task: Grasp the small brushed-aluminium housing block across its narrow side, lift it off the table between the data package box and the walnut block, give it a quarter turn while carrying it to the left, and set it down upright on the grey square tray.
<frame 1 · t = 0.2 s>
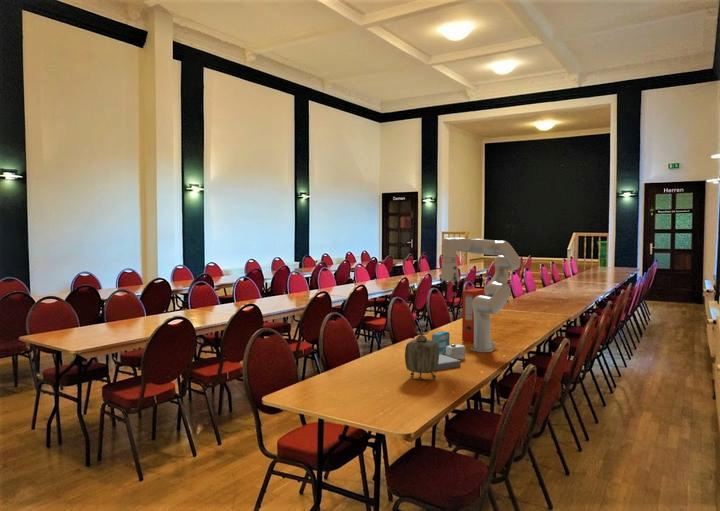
hand: (449, 291, 289), 36 cm above the table, tool pointing down, fingers open, 9 cm apart
tabletop clock: (421, 379, 246), on the table
data package: (440, 354, 295), on the table
housing: (455, 358, 284), on the table
grey square tray: (438, 365, 271), on the table
walnut block: (419, 359, 282), on the table
file binder: (474, 340, 330), on the table
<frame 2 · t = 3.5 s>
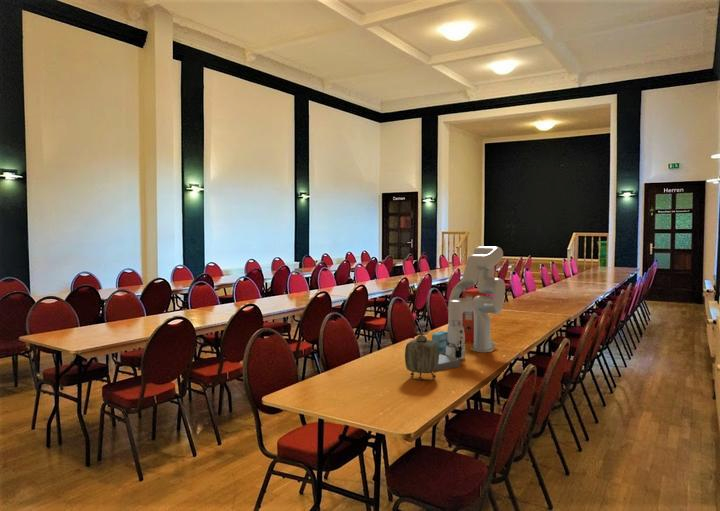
hand: (455, 356, 284), 1 cm above the table, tool pointing down, fingers closed on housing, 5 cm apart
housing: (455, 358, 284), on the table, touching gripper
everything else where it was.
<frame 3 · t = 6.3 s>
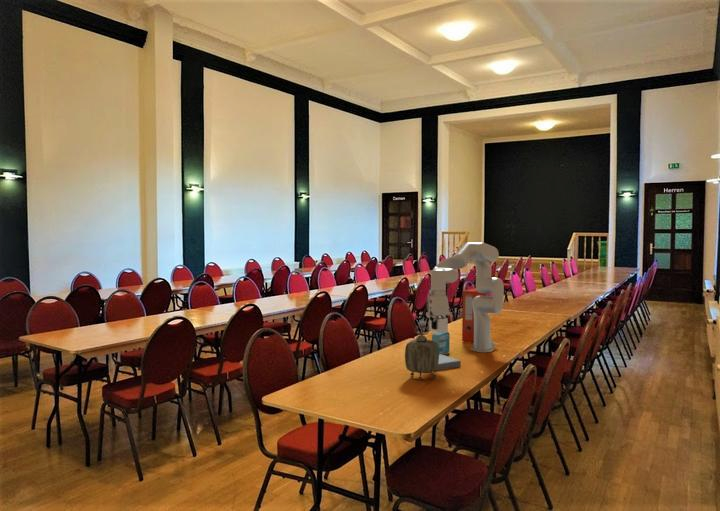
hand: (438, 328, 270), 19 cm above the table, tool pointing down, fingers closed on housing, 5 cm apart
housing: (438, 331, 270), point 18 cm above the table, touching gripper
everything else where it was.
when the fingers open (5 cm above the table, at t = 9.2 s): housing stays where it is, resting on grey square tray.
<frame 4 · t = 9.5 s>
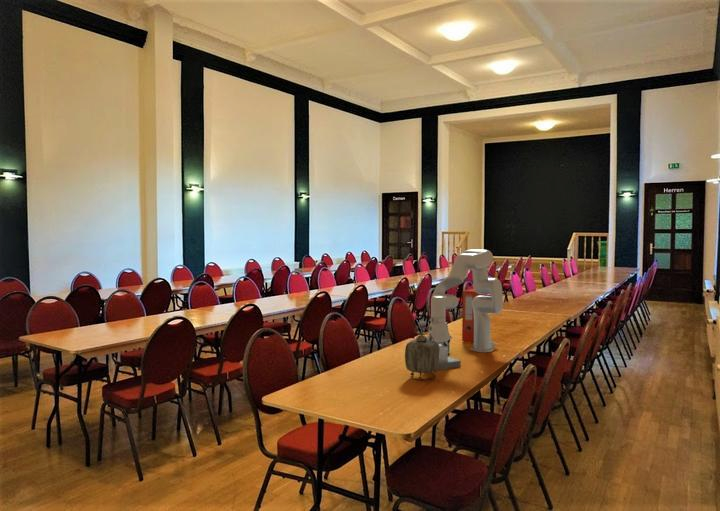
hand: (438, 353, 271), 6 cm above the table, tool pointing down, fingers open, 8 cm apart
housing: (438, 359, 271), point 3 cm above the table, touching grey square tray
everything else where it was.
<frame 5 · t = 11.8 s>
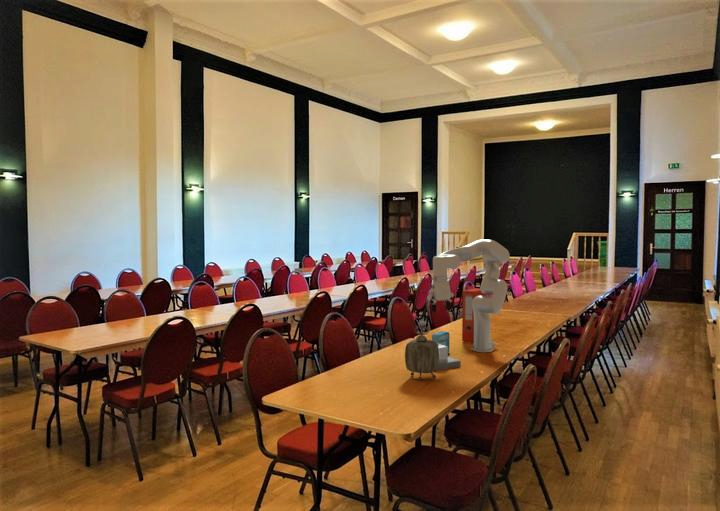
hand: (441, 310, 282), 26 cm above the table, tool pointing down, fingers open, 9 cm apart
nothing on the table moved.
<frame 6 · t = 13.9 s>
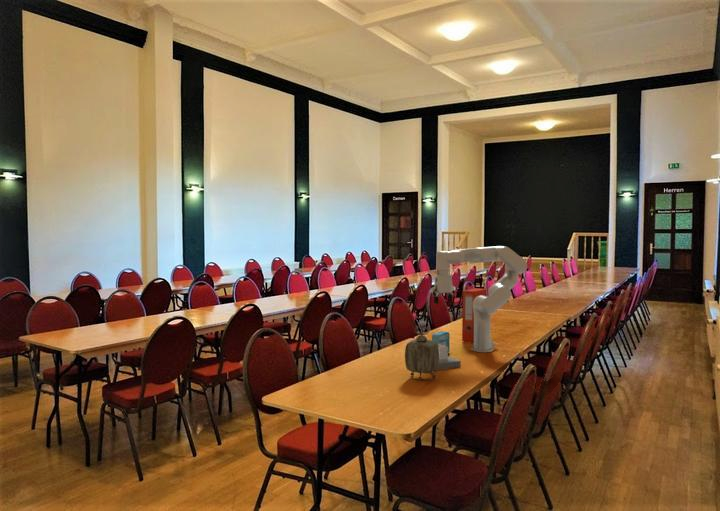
hand: (443, 302, 298), 28 cm above the table, tool pointing down, fingers open, 9 cm apart
nothing on the table moved.
at the end: housing inside the target area on the grey square tray (0.1 cm from its centre), point 3.1 cm above the grey square tray's base; housing tilted 0°; the gripper is holding nothing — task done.
